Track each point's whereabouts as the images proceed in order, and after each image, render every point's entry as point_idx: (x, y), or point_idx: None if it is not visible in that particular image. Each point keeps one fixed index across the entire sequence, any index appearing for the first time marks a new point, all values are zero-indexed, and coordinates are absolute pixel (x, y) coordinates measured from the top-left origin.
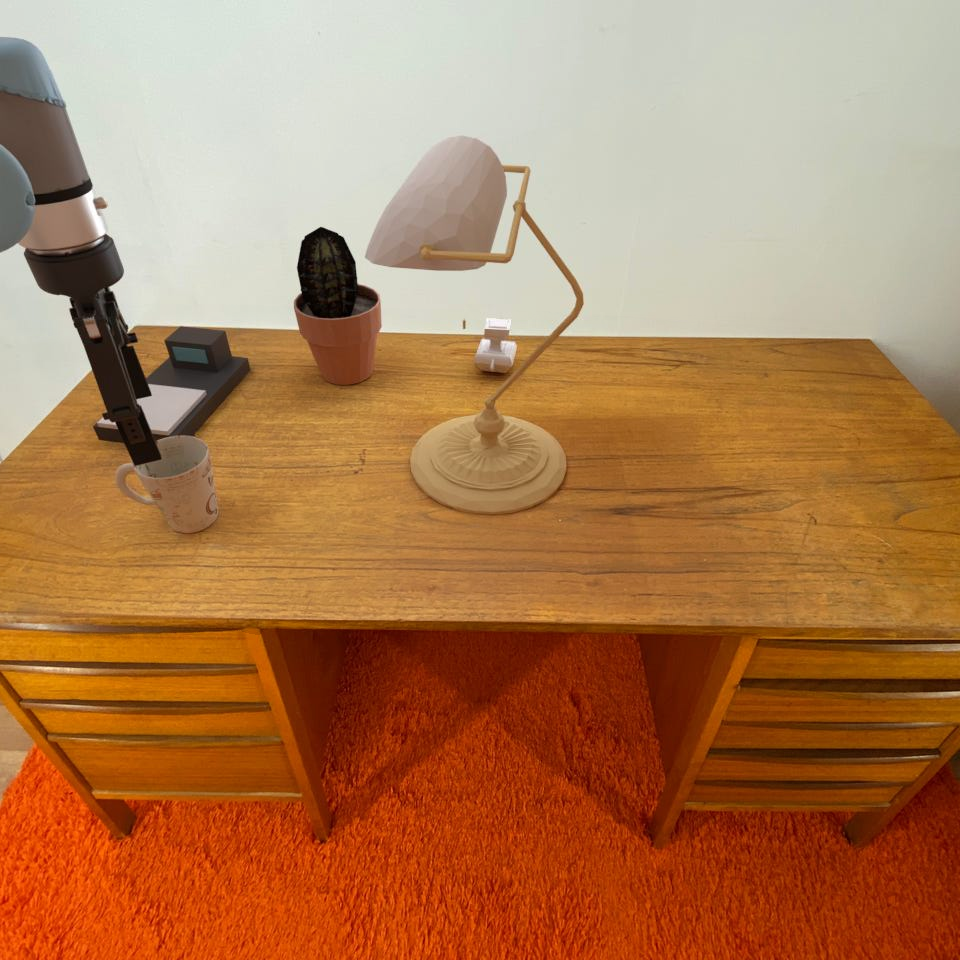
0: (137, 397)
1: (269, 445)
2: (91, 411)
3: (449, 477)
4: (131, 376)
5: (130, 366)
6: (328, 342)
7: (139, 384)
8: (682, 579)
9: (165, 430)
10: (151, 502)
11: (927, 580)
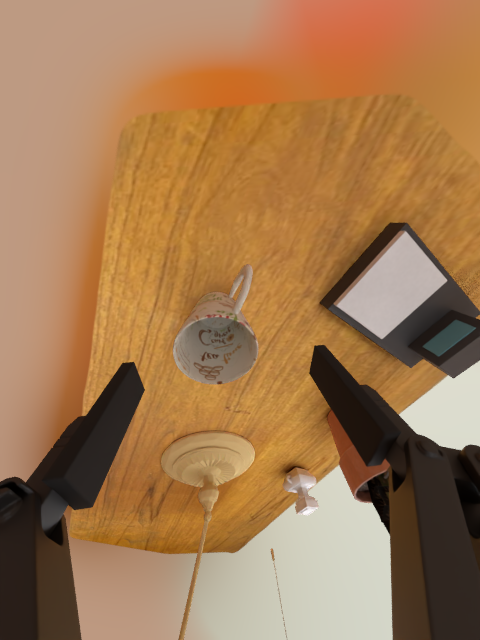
0: (313, 359)
1: (286, 365)
2: (452, 212)
3: (190, 453)
4: (333, 392)
5: (345, 413)
6: (352, 451)
7: (322, 383)
8: (100, 496)
9: (338, 304)
10: (232, 286)
11: (91, 538)
